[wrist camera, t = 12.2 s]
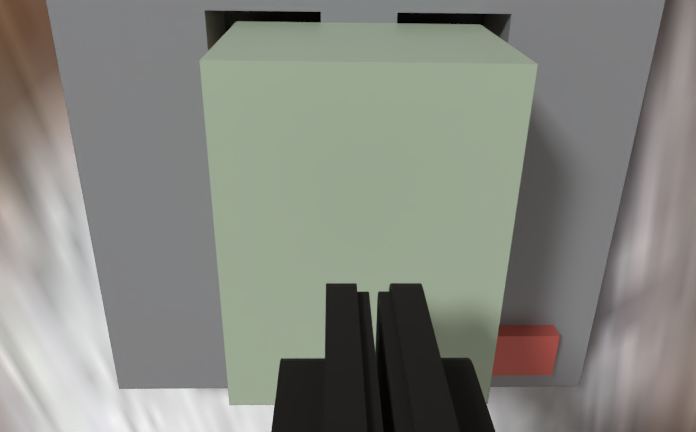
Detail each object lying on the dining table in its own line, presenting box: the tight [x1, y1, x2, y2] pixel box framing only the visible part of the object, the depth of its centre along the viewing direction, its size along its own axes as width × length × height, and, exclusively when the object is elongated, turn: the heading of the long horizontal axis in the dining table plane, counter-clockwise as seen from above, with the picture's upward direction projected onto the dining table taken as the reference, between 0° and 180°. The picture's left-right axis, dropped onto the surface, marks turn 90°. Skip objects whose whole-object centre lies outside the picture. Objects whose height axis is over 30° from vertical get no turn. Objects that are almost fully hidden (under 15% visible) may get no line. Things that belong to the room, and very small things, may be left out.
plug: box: [199, 21, 538, 405], centre depth 17 cm, size 8×7×8 cm
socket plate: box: [46, 0, 665, 389], centre depth 19 cm, size 16×16×4 cm
